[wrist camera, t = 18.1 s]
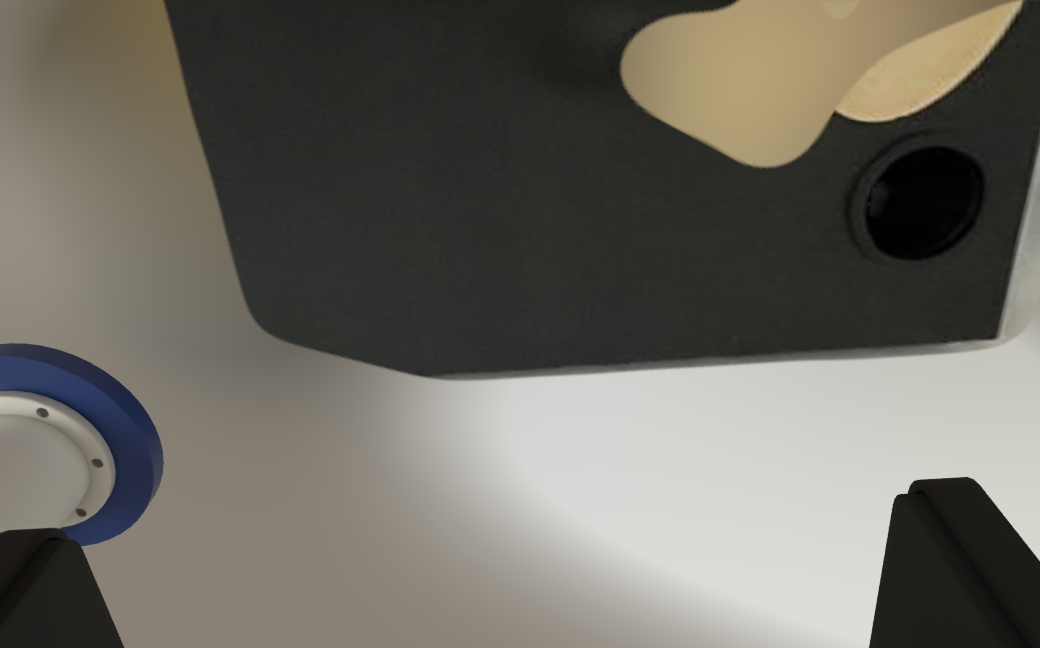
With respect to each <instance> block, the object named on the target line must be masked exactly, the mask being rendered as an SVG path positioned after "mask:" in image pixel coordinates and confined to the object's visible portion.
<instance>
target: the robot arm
mask: <svg viewBox="0 0 1040 648" xmlns="http://www.w3.org/2000/svg"><path fill="white" fill-rule="evenodd" d="M115 476H116V469H115V463H114V458H113V456H112V453H111V451H110V448H109V446H108V445H107V443H106V442H105V440H104V438H103V437H102V435H101V434H100V433H99V432H98V431H97V430H96V428H95V427H94V426H93V425H92V424H91V423H90V422H89V421H88V420H86V419H85V418H84V417H83V416H81V415H80V414H79V413H78V412H76V411H74V410H73V409H71V408H69V407H68V406H66V405H64V404H63V403H60V402H58V401H56V400H53V399H51V398H49V397H46V396H42V395H38V394H35V393H31V392H23V391H15V390H14V391H0V648H124V646H123V644H122V641H121V639H120V637H119V634H118V632H117V629H116V627H115V625H114V622H113V620H112V618H111V615H110V613H109V611H108V608H107V606H106V604H105V601H104V599H103V597H102V594H101V592H100V590H99V587H98V585H97V583H96V580H95V578H94V576H93V573H92V571H91V569H90V566H89V564H88V561H87V559H86V557H85V554H84V552H83V550H82V548H81V546H80V544H79V543H78V542H76V541H75V540H70V539H69V538H68V537H67V535H66V533H65V532H63V531H62V530H61V529H60V528H61V527H66V526H71V525H75V524H78V523H80V522H83V521H85V520H87V519H88V518H90V517H91V516H93V515H94V514H96V513H97V512H98V511H99V510H100V508H101V507H102V506H103V505H104V504H105V502H106V501H107V499H108V498H109V496H110V495H111V493H112V490H113V487H114V484H115ZM869 648H1040V561H1039V560H1038V558H1037V557H1036V556H1035V555H1034V553H1033V552H1032V551H1031V550H1030V548H1029V547H1028V546H1027V544H1026V543H1025V542H1024V541H1023V539H1022V538H1021V537H1020V536H1019V534H1018V533H1017V532H1016V531H1015V529H1014V528H1013V527H1012V525H1011V524H1010V523H1009V522H1008V520H1007V519H1006V518H1005V516H1004V515H1003V514H1002V513H1001V511H1000V510H999V509H998V508H997V506H996V505H995V504H994V503H993V501H992V500H991V499H990V498H989V497H988V495H987V494H986V492H985V491H984V490H983V489H982V487H981V486H980V485H979V484H978V483H977V482H976V481H975V480H974V479H971V478H968V477H960V478H943V479H926V480H925V479H924V480H916V481H914V482H913V483H912V484H911V485H910V488H909V491H908V494H899V495H897V496H896V498H895V499H894V503H893V508H892V514H891V520H890V526H889V532H888V538H887V544H886V550H885V556H884V561H883V568H882V573H881V580H880V585H879V592H878V597H877V603H876V609H875V615H874V621H873V627H872V633H871V640H870V645H869Z"/></svg>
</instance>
